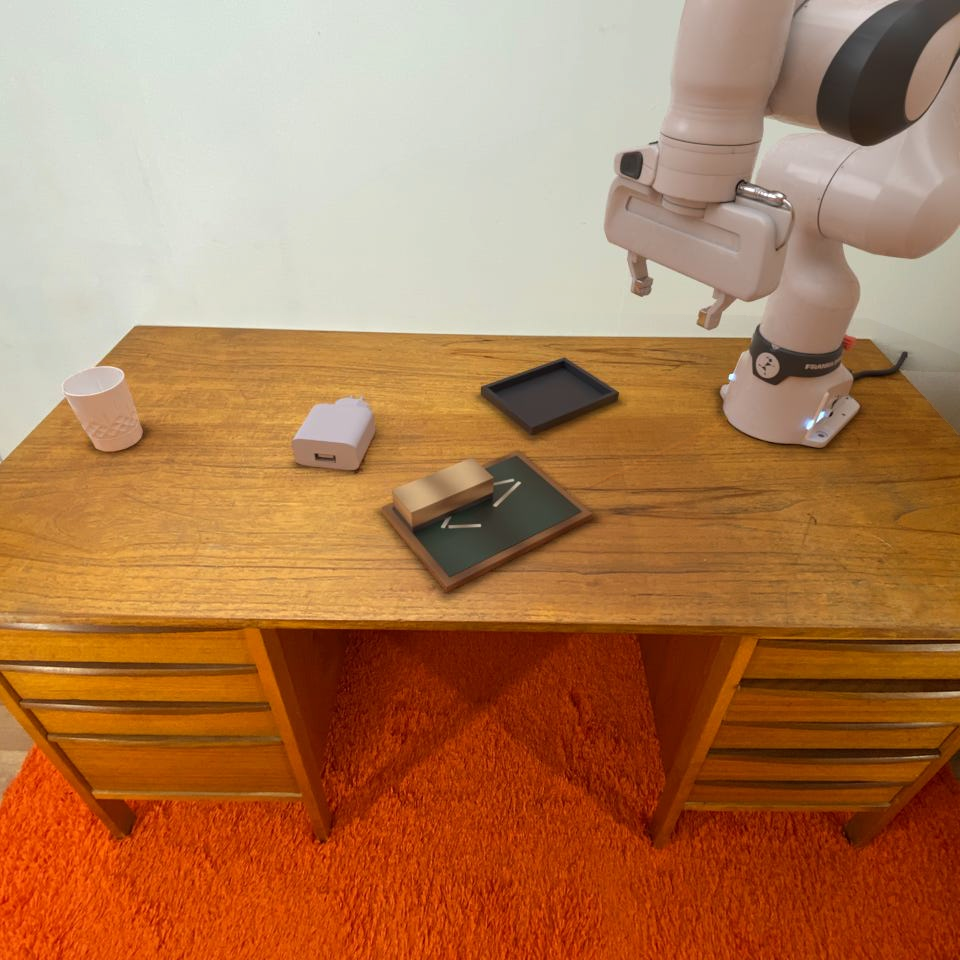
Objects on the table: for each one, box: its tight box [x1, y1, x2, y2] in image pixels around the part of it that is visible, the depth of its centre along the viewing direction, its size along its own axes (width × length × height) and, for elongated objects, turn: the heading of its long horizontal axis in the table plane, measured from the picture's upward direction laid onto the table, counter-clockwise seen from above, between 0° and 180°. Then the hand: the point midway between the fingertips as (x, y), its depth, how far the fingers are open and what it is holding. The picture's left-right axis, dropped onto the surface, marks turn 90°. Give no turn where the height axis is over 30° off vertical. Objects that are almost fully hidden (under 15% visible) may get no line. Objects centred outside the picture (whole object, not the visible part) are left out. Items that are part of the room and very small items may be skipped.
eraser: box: [391, 457, 494, 533], centre depth 81 cm, size 12×5×4 cm, turn 124°
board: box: [381, 450, 594, 593], centre depth 82 cm, size 22×16×1 cm
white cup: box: [60, 365, 144, 453], centre depth 91 cm, size 8×8×10 cm
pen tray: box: [480, 356, 620, 436], centre depth 103 cm, size 18×14×2 cm
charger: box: [290, 394, 377, 471], centre depth 94 cm, size 5×9×15 cm
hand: (672, 309), depth 68 cm, fingers open, 8 cm apart
